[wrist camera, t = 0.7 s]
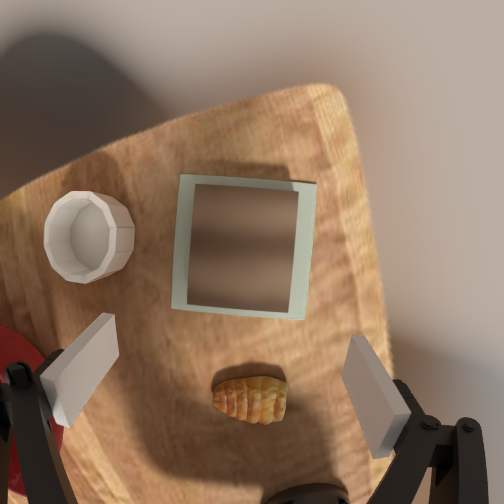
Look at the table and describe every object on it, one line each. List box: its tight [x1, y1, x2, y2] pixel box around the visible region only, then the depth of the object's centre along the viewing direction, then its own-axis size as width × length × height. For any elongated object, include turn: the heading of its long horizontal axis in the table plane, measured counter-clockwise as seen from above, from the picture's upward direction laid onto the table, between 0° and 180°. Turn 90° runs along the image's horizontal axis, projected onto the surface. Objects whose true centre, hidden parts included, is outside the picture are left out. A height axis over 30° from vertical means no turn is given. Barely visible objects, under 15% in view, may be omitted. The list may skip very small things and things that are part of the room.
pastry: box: [213, 376, 288, 425], centre depth 36 cm, size 9×7×4 cm
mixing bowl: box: [0, 325, 64, 497], centre depth 30 cm, size 28×28×15 cm
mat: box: [171, 174, 317, 320], centre depth 36 cm, size 16×16×1 cm
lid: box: [187, 184, 299, 313], centre depth 34 cm, size 13×11×3 cm
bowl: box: [44, 191, 135, 284], centre depth 33 cm, size 10×10×6 cm
